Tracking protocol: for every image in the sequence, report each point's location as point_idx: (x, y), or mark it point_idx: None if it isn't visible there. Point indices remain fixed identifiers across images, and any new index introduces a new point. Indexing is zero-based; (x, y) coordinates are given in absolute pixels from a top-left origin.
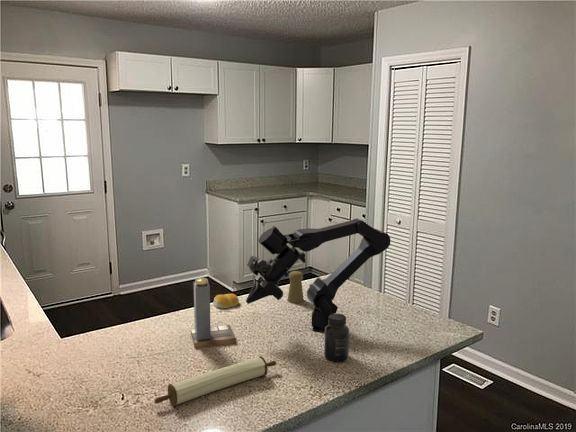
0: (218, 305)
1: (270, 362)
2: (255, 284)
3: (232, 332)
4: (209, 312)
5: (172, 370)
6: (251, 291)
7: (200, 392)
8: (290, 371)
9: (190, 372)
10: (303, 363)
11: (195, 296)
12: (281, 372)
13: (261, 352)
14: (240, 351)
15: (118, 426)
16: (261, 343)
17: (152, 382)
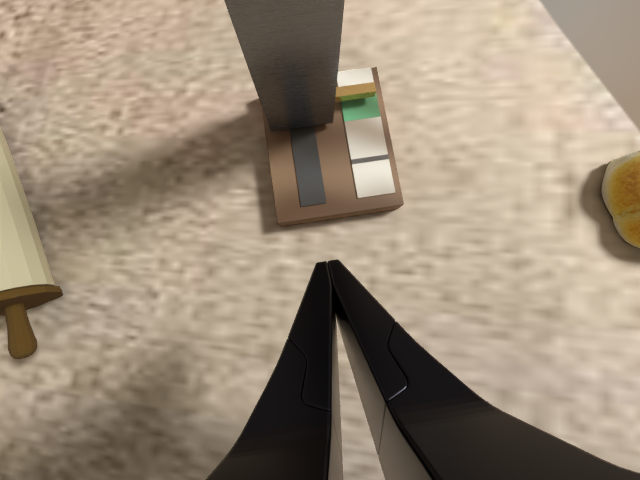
0: (614, 166)
1: (9, 337)
2: (407, 443)
3: (327, 212)
4: (236, 30)
5: (133, 44)
6: (362, 327)
7: None
8: (41, 397)
9: (110, 91)
10: (83, 456)
11: None
12: (42, 365)
13: (193, 311)
14: (214, 239)
15: None
16: (263, 318)
17: (80, 3)
